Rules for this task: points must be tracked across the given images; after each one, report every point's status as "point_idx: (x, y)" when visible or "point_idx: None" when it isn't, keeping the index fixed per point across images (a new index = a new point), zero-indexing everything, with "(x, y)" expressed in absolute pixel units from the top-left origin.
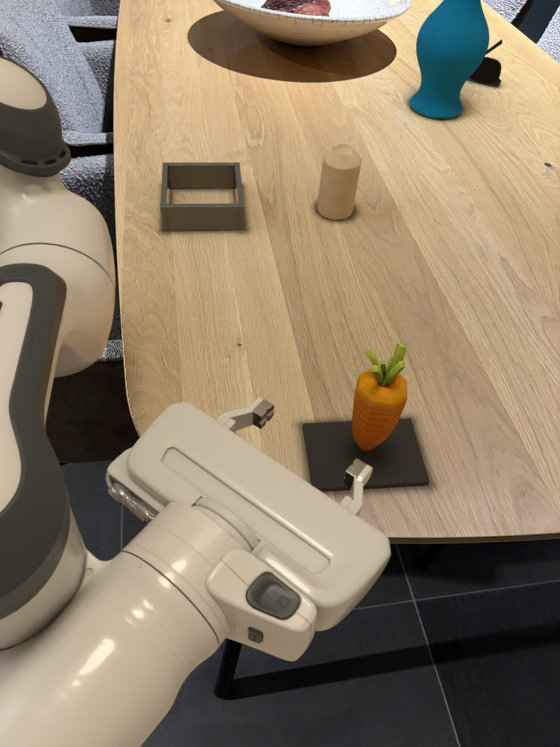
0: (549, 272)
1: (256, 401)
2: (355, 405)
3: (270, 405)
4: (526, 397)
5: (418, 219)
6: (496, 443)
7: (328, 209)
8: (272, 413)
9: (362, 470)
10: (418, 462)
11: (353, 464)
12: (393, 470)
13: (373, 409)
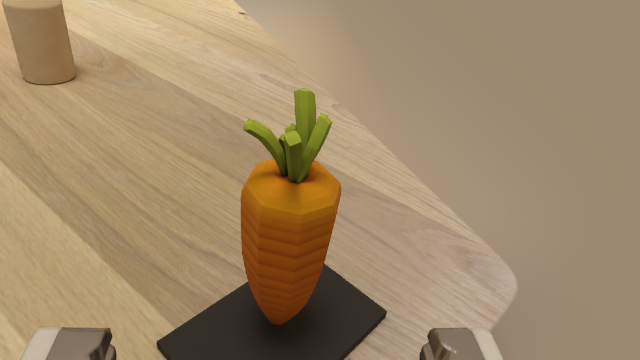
0: (307, 74)
1: (33, 351)
2: (261, 246)
3: (96, 334)
4: (382, 171)
5: (158, 64)
6: (401, 226)
7: (40, 71)
8: (112, 356)
9: (481, 351)
10: (355, 295)
11: (450, 351)
12: (336, 326)
13: (305, 231)
